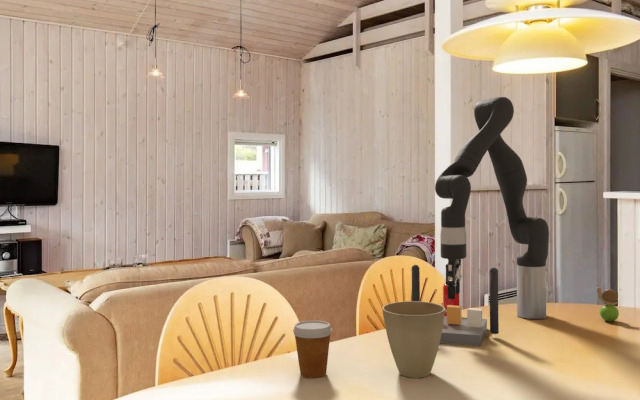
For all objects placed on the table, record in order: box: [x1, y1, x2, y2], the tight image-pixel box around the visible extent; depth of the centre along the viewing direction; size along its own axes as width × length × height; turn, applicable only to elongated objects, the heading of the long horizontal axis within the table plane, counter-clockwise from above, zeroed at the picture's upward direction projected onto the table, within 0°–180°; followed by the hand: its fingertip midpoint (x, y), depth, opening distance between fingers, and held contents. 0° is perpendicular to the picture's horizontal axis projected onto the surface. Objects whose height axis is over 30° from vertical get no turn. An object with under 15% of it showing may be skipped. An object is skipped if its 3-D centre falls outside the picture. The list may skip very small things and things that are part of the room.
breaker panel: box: [439, 307, 488, 347], centre depth 173 cm, size 17×20×8 cm
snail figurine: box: [596, 282, 620, 322], centre depth 186 cm, size 5×6×12 cm
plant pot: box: [382, 300, 445, 379], centre depth 139 cm, size 15×15×16 cm
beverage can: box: [442, 282, 460, 316], centre depth 191 cm, size 5×5×12 cm
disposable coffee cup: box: [292, 320, 333, 379], centre depth 140 cm, size 10×10×12 cm
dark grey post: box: [488, 267, 500, 335], centre depth 169 cm, size 2×2×19 cm
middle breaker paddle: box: [447, 305, 463, 324], centre depth 173 cm, size 4×2×5 cm, turn 69°
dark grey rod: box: [411, 264, 421, 302], centre depth 177 cm, size 2×2×19 cm
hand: (453, 296), depth 173 cm, fingers open, 8 cm apart
